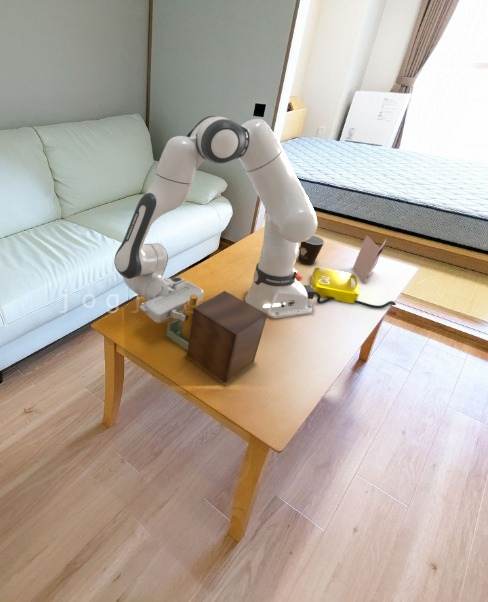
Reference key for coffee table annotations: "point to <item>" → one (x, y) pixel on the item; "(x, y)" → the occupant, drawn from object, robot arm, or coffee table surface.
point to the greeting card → (367, 259)
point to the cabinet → (225, 335)
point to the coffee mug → (310, 250)
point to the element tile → (335, 285)
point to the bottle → (189, 311)
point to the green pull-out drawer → (176, 333)
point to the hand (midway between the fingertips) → (193, 314)
